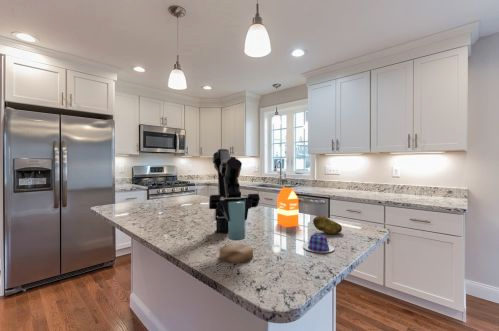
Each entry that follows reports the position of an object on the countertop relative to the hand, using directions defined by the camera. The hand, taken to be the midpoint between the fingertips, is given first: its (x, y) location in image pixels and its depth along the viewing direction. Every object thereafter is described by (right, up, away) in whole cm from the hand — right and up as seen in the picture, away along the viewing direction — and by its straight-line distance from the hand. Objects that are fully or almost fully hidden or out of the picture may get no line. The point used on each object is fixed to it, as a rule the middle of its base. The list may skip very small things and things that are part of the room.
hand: (237, 220), depth 89 cm
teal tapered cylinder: (0, -7, +1) cm, 7 cm away
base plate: (0, -13, +1) cm, 13 cm away
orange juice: (+25, -13, +47) cm, 55 cm away
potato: (+41, -13, +31) cm, 53 cm away
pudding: (+32, -14, +10) cm, 36 cm away
